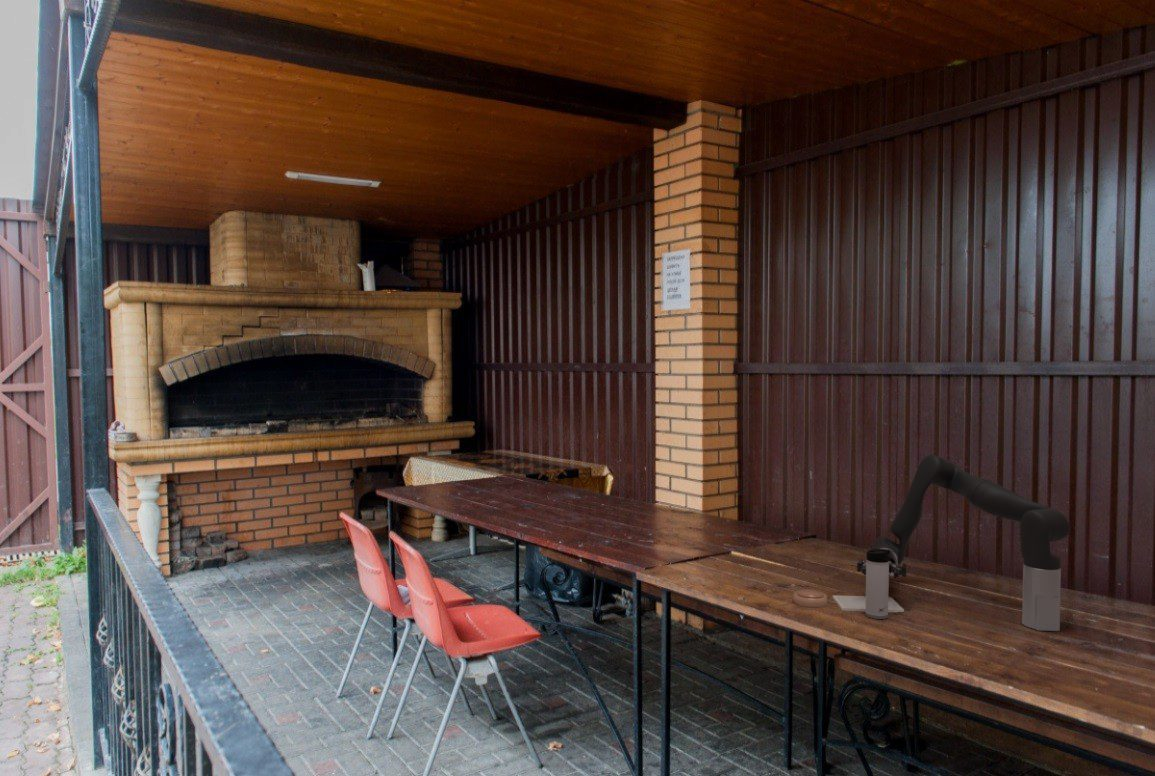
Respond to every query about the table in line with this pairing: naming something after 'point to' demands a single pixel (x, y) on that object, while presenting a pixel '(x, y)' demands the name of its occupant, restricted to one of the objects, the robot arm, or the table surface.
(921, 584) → the table surface
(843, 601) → the tile
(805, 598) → the tan round domed disc
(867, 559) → the travel mug
